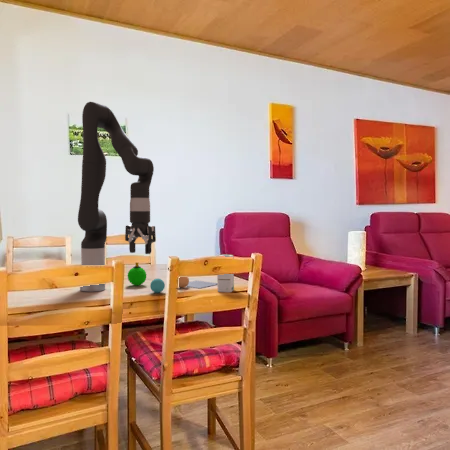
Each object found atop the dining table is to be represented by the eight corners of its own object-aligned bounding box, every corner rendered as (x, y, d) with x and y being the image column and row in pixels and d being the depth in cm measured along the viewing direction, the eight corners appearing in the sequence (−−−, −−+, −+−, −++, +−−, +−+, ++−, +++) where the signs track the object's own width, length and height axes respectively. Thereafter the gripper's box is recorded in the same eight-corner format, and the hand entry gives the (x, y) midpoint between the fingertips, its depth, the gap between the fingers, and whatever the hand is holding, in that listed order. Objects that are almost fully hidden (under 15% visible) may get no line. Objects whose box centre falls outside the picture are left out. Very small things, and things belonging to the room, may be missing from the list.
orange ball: (175, 289, 173) (175, 275, 173) (176, 286, 179) (176, 273, 179) (188, 288, 174) (188, 275, 173) (189, 286, 179) (189, 273, 179)
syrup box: (231, 292, 166) (231, 255, 165) (217, 291, 167) (216, 255, 167) (234, 289, 171) (234, 254, 171) (220, 289, 173) (220, 254, 172)
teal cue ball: (149, 294, 162) (149, 279, 162) (151, 291, 168) (151, 277, 168) (163, 294, 163) (163, 279, 162) (165, 291, 168) (165, 277, 168)
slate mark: (199, 288, 174) (199, 288, 174) (175, 285, 183) (175, 284, 183) (220, 284, 185) (220, 283, 185) (196, 280, 194) (196, 280, 194)
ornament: (149, 286, 181) (149, 262, 180) (131, 287, 176) (131, 264, 176) (142, 283, 187) (142, 261, 187) (125, 285, 183) (124, 262, 183)
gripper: (160, 210, 156) (160, 253, 157) (134, 210, 165) (135, 251, 165) (145, 210, 150) (145, 255, 151) (119, 210, 159) (119, 252, 159)
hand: (140, 253), depth 158 cm, fingers open, 8 cm apart
